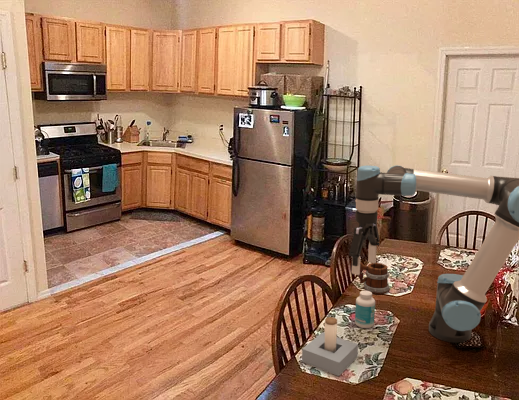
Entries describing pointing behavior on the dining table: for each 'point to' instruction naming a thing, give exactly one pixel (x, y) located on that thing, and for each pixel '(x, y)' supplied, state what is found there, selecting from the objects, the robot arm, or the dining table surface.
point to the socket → (330, 355)
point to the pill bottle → (365, 310)
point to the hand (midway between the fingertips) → (364, 268)
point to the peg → (330, 334)
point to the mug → (375, 278)
